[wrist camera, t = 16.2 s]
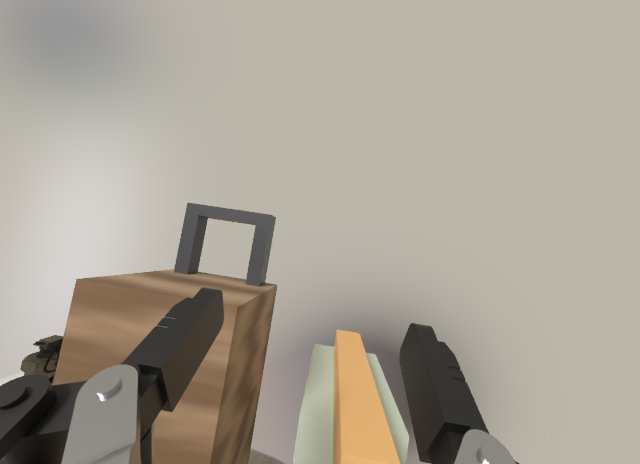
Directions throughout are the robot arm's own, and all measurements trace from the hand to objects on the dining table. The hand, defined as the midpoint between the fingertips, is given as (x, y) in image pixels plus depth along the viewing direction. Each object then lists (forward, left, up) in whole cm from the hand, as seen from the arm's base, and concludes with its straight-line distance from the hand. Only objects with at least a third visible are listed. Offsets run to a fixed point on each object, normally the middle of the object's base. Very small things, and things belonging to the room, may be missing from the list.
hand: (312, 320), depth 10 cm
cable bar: (-11, +13, -12) cm, 21 cm away
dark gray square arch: (-20, 0, -2) cm, 20 cm away
